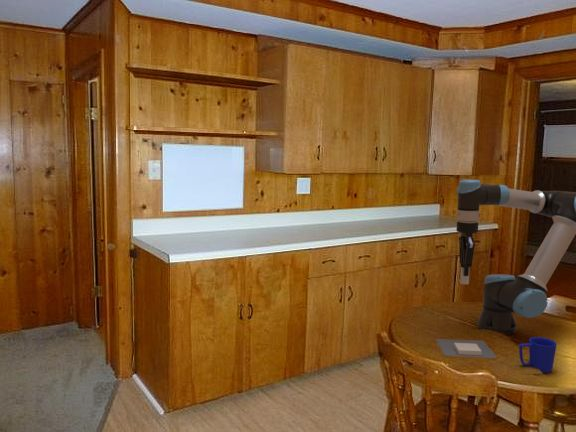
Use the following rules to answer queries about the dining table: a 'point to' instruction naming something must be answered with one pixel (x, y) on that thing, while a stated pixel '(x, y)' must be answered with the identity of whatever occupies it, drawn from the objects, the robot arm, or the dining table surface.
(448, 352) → the board
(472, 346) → the tile
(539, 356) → the mug
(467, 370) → the dining table surface
